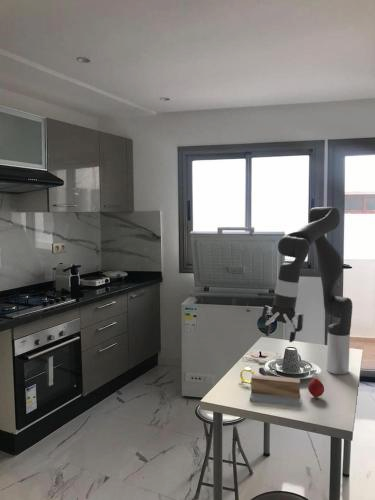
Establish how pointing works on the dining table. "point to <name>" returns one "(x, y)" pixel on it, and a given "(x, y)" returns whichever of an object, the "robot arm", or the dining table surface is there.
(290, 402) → the ridge base
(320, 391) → the onion
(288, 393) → the ridge
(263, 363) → the dining table surface
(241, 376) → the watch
